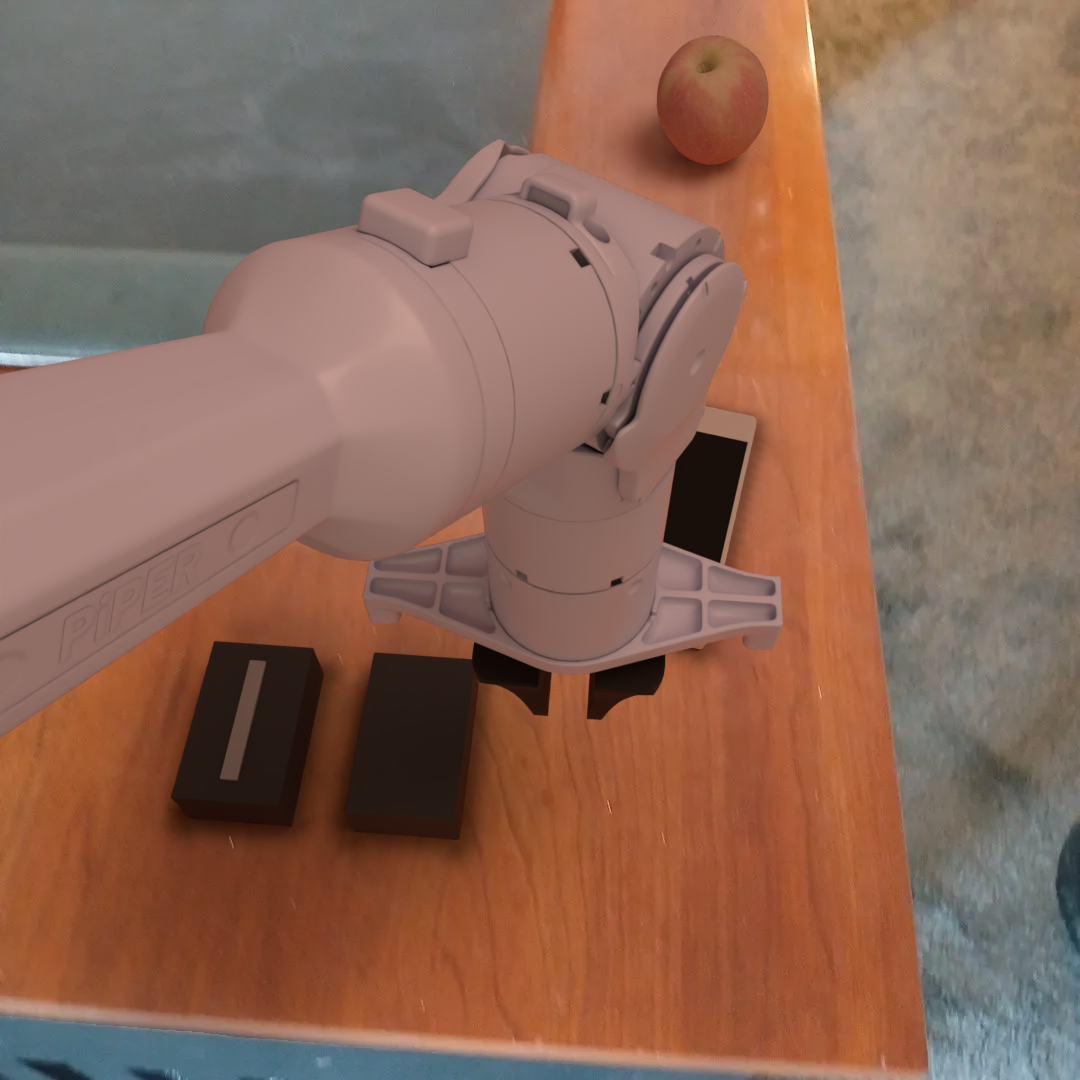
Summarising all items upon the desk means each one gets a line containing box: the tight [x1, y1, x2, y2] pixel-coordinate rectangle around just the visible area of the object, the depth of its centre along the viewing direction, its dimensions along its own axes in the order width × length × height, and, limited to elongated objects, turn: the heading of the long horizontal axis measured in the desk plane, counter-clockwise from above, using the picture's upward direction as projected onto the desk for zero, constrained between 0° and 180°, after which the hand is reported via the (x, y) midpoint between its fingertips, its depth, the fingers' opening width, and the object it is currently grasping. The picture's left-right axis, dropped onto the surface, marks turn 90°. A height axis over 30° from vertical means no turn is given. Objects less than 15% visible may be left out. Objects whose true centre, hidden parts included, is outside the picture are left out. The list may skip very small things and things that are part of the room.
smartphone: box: [663, 405, 757, 650], centre depth 59 cm, size 7×16×1 cm, turn 164°
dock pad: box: [170, 640, 325, 827], centre depth 51 cm, size 8×5×3 cm, turn 175°
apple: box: [656, 35, 770, 166], centre depth 73 cm, size 8×8×8 cm
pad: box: [344, 651, 480, 840], centre depth 51 cm, size 8×5×3 cm, turn 175°
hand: (568, 695), depth 45 cm, fingers closed
